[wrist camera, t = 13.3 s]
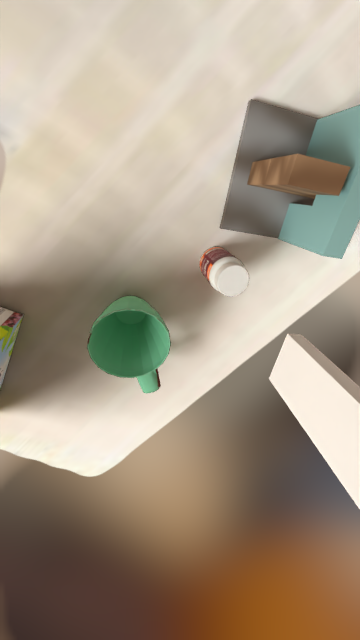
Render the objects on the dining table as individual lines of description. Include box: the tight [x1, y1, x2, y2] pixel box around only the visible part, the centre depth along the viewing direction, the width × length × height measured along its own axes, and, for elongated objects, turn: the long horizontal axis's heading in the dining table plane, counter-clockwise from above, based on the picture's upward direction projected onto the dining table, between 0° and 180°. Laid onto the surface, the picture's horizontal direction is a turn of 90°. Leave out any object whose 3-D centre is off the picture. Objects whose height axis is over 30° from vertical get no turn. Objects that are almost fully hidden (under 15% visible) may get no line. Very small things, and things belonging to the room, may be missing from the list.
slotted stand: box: [220, 99, 350, 238], centre depth 30 cm, size 14×20×11 cm
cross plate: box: [278, 105, 360, 259], centre depth 30 cm, size 14×2×10 cm, turn 170°
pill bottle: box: [199, 247, 249, 297], centre depth 34 cm, size 5×5×8 cm
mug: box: [87, 296, 171, 393], centre depth 36 cm, size 15×10×10 cm
